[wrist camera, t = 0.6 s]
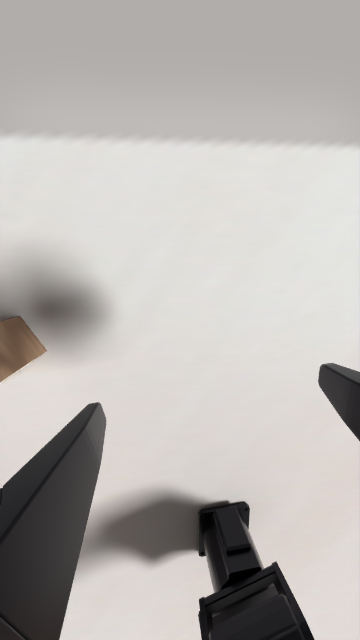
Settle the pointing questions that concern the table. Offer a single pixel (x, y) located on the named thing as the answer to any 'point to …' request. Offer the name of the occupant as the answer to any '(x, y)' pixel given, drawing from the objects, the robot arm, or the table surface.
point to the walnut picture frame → (17, 347)
